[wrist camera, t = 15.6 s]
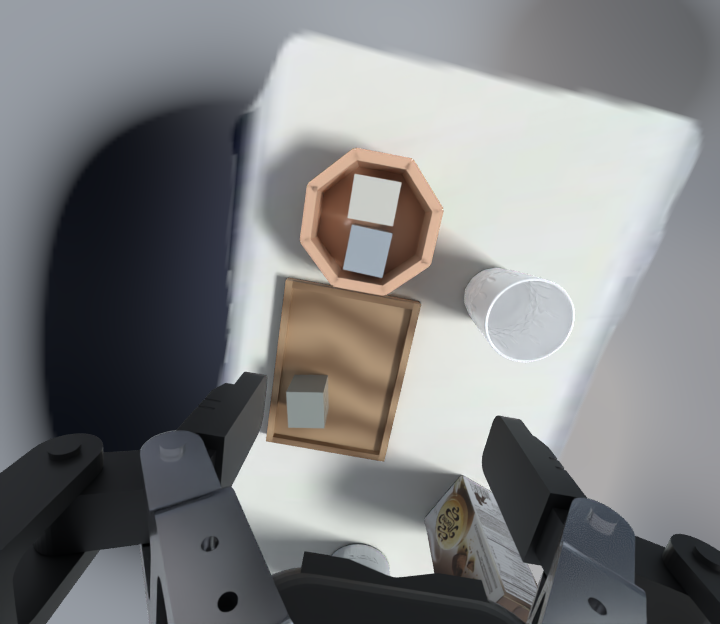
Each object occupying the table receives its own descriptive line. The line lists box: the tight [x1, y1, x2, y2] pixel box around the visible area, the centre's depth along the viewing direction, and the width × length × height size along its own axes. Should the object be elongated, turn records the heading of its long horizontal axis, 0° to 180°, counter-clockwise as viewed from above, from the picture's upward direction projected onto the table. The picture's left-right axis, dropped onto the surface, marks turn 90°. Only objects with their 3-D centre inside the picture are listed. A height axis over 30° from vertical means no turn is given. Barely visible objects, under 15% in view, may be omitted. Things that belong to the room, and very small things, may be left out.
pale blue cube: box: [343, 223, 393, 278], centre depth 37 cm, size 4×4×5 cm
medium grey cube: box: [286, 375, 329, 428], centre depth 42 cm, size 5×4×4 cm
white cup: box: [464, 267, 575, 362], centre depth 36 cm, size 8×8×10 cm
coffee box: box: [425, 475, 538, 623], centre depth 42 cm, size 9×6×16 cm
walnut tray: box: [266, 278, 421, 462], centre depth 44 cm, size 22×16×1 cm
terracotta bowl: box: [300, 148, 444, 296], centre depth 36 cm, size 13×13×6 cm
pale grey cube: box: [348, 174, 402, 226], centre depth 35 cm, size 4×4×5 cm
